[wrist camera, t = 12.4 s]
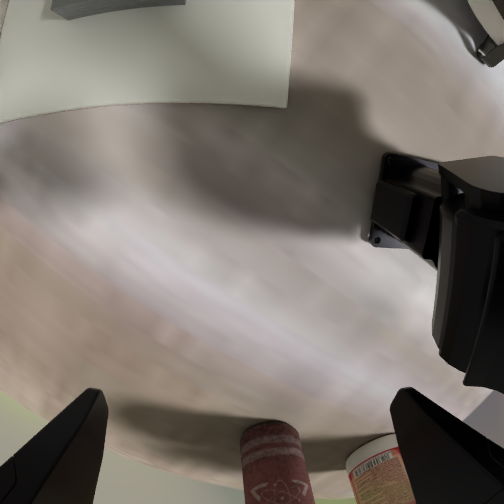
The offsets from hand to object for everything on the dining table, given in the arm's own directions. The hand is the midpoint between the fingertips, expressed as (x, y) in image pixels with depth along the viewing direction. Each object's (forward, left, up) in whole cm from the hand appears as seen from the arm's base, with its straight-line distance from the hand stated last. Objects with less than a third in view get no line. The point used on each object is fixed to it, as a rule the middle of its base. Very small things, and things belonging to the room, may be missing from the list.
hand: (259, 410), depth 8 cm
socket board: (+8, -19, -13) cm, 24 cm away
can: (-4, +21, -13) cm, 25 cm away
